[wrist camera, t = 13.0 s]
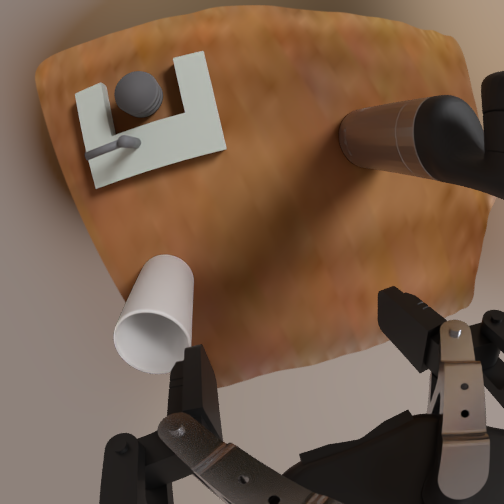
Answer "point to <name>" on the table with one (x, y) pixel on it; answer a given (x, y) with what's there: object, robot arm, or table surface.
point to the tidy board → (151, 128)
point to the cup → (157, 316)
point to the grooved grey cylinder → (138, 94)
